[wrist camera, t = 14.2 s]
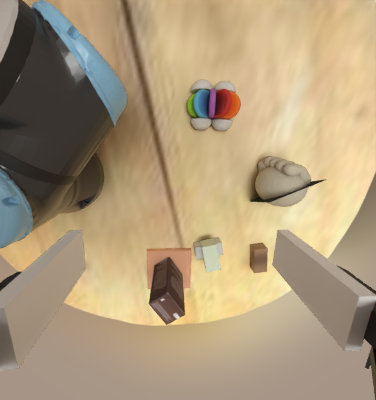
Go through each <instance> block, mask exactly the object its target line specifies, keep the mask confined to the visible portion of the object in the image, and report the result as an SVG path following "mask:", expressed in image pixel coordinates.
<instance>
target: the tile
mask: <svg viewBox="0 0 376 400" xmlns="http://www.w3.org/2000/svg"><path fill="white" fill-rule="evenodd" d="M168 257H170V258H171V260H172V261H173V262H174V264H175V265H176V266H177V268H178V269H179V270H180V272H181V273H182V277H183V288H190V271H191V248H181V249H147V269H148V289H151V286H152V279H153V272H154V265H156V264H157V263H159V262H161V261H162V260H164V259H166V258H168Z"/></svg>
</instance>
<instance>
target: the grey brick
mask: <svg viewBox="0 0 376 400" xmlns="http://www.w3.org/2000/svg"><path fill="white" fill-rule="evenodd" d="M214 240H215V243H216V246H217V252H218V255H223V249H222V243H221V241H220V239H219V237H217V238H214ZM194 247H195V252H196V257H197V260H199V259H203V254H202V248H201V243H200V241H198V242H194Z"/></svg>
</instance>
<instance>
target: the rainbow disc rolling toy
mask: <svg viewBox="0 0 376 400" xmlns="http://www.w3.org/2000/svg"><path fill="white" fill-rule="evenodd" d="M191 92H192V93H194V94H193V95H192V96H191V97H190V98H189V100H188V102H187V110H188V112H189V114H190V115H191V116H192V117H193V119H191V124H192V126H193V127H194V128H195V129H198V130H205V129H207V128H208V127H209V126H210V125H211V123H212V126H213V127H214V128H215V129H216V130H222V131H224V130H227V129H229V128H230V126H231V125H232V120H229V119H230V118H232V117H234V116H235V115H236V114H237V113H238V111H239V109H240V106H241V102H240V99H239V97H238V96H237V94H235V93H236V90H235V87H234V85H233V84H232V83H231V82H229V81H221V82H220V83H218V84H217V85H216V87H215V88H213V87H212V85H211V83H210V82H209V81H207V80H198V81H196V82H195V83H194V84H193V86H192V89H191ZM211 118H215V119H213V120H211Z"/></svg>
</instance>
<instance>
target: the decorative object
mask: <svg viewBox="0 0 376 400" xmlns="http://www.w3.org/2000/svg"><path fill="white" fill-rule="evenodd" d="M258 170H259V174H258V176H257V178H256V181H255V187H256V191H257V193H258V195H259V196H260V198H257V199H255V200H252V201H250V202H267V203H269V204H271V205H274V206H281V207H286V206H292V205H294V204H297V203H298V202H300V201H301V200H302V199H303V198H304V196H305V195H306V192H307V188H308V187H309V186H312V185H314V184H317V183H319V182H322V181H324V180H319V181H313V182H311V177H310V175H309V173H308V171H307V170H306V168H305V167H303V166H301V165H298V164H295V163H294V162H291V161H287V160H284V159H280V158H277V157H272V156H269V157H267V158H265V159H263V160H261V161H260V162H259V164H258ZM326 180H327V179H326Z"/></svg>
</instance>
